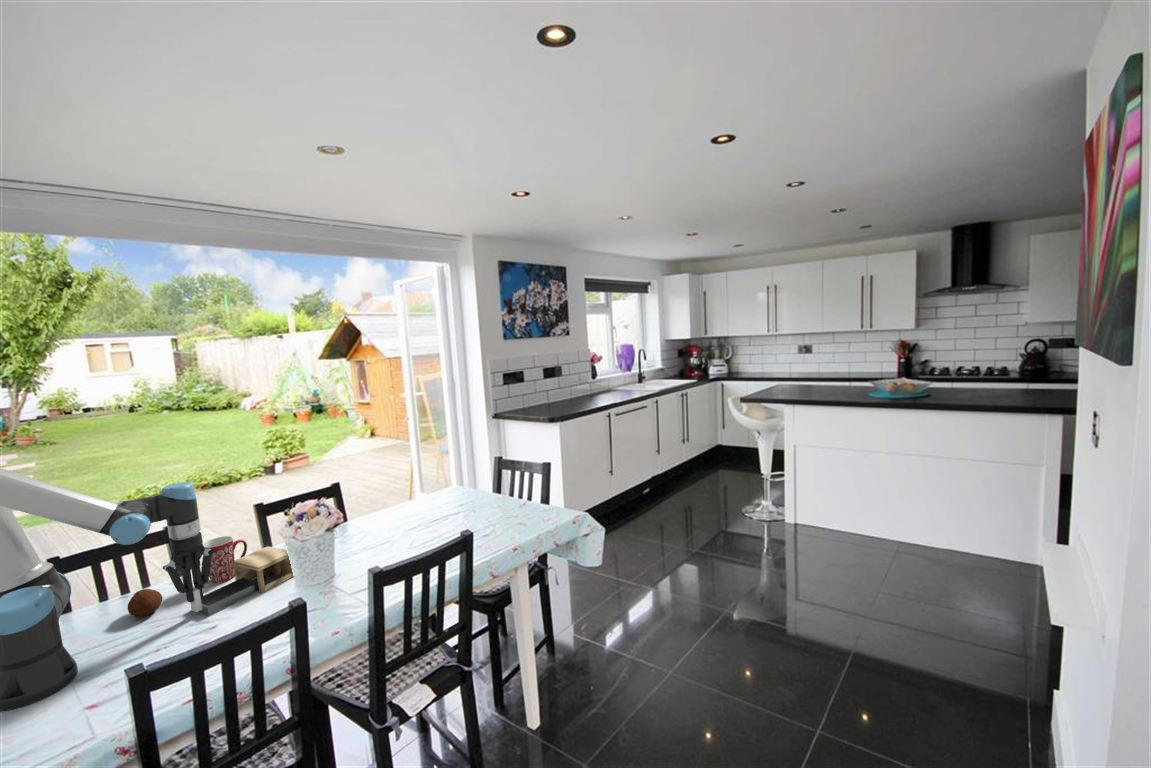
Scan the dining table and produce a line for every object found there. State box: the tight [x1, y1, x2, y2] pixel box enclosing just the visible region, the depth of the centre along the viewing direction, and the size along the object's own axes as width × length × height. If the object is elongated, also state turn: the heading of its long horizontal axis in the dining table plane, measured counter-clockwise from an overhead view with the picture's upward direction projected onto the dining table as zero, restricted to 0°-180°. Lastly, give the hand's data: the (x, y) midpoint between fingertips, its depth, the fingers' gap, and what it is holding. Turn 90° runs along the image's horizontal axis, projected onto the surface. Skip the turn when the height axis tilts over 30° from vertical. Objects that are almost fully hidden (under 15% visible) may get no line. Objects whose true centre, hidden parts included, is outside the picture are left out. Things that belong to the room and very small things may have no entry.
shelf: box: [233, 545, 294, 594], centre depth 172 cm, size 12×13×9 cm
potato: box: [127, 588, 164, 618], centre depth 156 cm, size 8×11×8 cm
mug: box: [203, 535, 248, 584], centre depth 177 cm, size 13×9×14 cm
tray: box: [190, 577, 260, 617], centre depth 161 cm, size 16×9×3 cm, turn 154°
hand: (197, 609), depth 153 cm, fingers closed
